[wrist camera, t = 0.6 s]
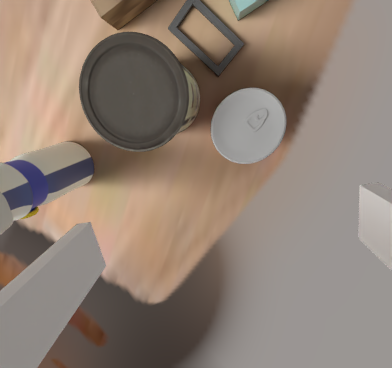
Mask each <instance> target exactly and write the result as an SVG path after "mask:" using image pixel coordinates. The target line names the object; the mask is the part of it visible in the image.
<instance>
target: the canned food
mask: <svg viewBox="0 0 392 368" xmlns="http://www.w3.org/2000/svg"><path fill="white" fill-rule="evenodd" d="M285 130H286V114H285V110H284V108H283V106H282V104H281V102H280V101H279V100H278V98H277V97H275V96H274V95H273V94H272V93H270V92H268V91H266V90H264V89H260V88H244V89H240V90H238V91H235V92H233V93H232V94H230V95H228V96H227V97H226V98H225V99H224V100H222V101H221V103H220V104H219V105H218V107H217V108H216V110H215V112H214V114H213V117H212V121H211V138H212V141H213V144H214V146H215V147H216V149H217V150H218V152H219V153H220V154H221V155H222V156H223V157H225V158H226V159H228V160H230V161H232V162H235V163H239V164H249V163H255V162H258V161H261V160H262V159H264V158H266V157H268V156H269V155H270V154H271V153H273V152H274V151H275V149H276V148H277V147H278V146H279V144H280V143H281V141H282V139H283V136H284V134H285Z"/></svg>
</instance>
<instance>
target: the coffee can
mask: <svg viewBox="0 0 392 368" xmlns="http://www.w3.org/2000/svg"><path fill="white" fill-rule="evenodd" d="M79 93H80V100H81V104H82V108H83V110H84V113H85V115H86V117H87V119H88V121H89V123H90V124H91V126H92V127H93V128H94V130H95V131H96V132H97V133H98V134H99V135H100V136H101V137H102V138H103V139H105V140H106V141H107V142H109V143H110V144H112V145H114V146H116V147H118V148H120V149H124V150H127V151H134V152H144V151H149V150H153V149H156V148H159V147H161V146H163V145H164V144H166V143H167V142H169V141H170V140H171V139H172V138H173V137H174V136H175V135H176V134H178V133H179V132H181V131H183V130H185V129H186V128H187V127H188V126H189V125H190V124H191V123H192V122H193V121H194V119H195V118H196V116H197V114H198V111H199V107H200V92H199V88H198V85H197V82H196V80H195V78H194V77H193V75H192V74H191V73H190V72H189V71H188V70H187V69H186V68H185V67H184V66H183V65H182V64H181V63H180V62H179V61H178V59H177V58H176V56H175V55H174V54H173V53H172V51H171V50H170V49H169V48H168V47H167V46H166V45H164V44H163V43H162V42H160V41H159V40H157V39H155V38H153V37H151V36H149V35H145V34H142V33H137V32H122V33H117V34H114V35H111V36H109V37H107V38H105V39H104V40H102V41H101V42H100V43H98V44H97V45H96V46H95V47H94V48H93V49H92V50H91V52H90V53H89V55H88V56H87V58H86V60H85V62H84V64H83V67H82V71H81V74H80V81H79Z"/></svg>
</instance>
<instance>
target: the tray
mask: <svg viewBox="0 0 392 368" xmlns="http://www.w3.org/2000/svg"><path fill="white" fill-rule="evenodd" d="M267 1H268V0H229V2H230V4H231V6H232V9H233V11H234V13H235V15H236V17H237V20H240V19H241V18H243V17H244V16H246V15H247V14H249V13H250V12H252V11H253V10H255V9H256V8H258V7H259V6H261V5H262V4H264V3H265V2H267Z"/></svg>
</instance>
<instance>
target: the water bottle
mask: <svg viewBox="0 0 392 368" xmlns="http://www.w3.org/2000/svg"><path fill="white" fill-rule="evenodd" d="M93 173H94V163H93V160H92V157H91V156H90V154H89V153H88V151H87V150H86V149H85V148H84V147H82V146H81V145H79V144H77V143H74V142H68V141H67V142H61V143H58V144H55V145H52V146H49V147H46V148H43V149H39V150H35V151H32V152H28V153H24V154H21V155H19V156H16V157H15V158H13V159H11V160H10V161H9V162H5V163H1V162H0V235H1V234H2V233H3V232H4V231H5V230H6V229H8V228H9V227H10V226H11V225H12V223H13V220H19V219H24V218H28V217H31V216H33V215H35V214H36V213H37V212H38V211H39V209H38V207H37V206H41V205H44V204H47V203H49V202H52V201H54V200H56V199H57V198H59V197H61V196H63V195H65V194H67V193H68V192H70V191H72V190H74V189H77V188H79V187H81V186H83V185H85V184H87V183H88V182H89V181H90V180H91V178H92V176H93Z"/></svg>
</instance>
